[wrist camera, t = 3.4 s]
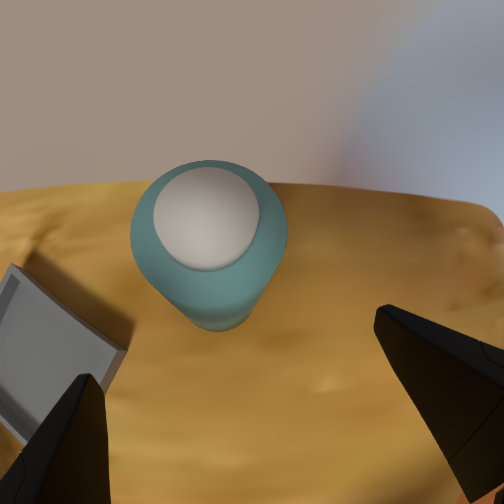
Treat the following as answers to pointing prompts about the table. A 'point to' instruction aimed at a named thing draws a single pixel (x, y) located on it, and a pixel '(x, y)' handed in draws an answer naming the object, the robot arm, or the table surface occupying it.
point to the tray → (44, 352)
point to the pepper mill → (209, 240)
